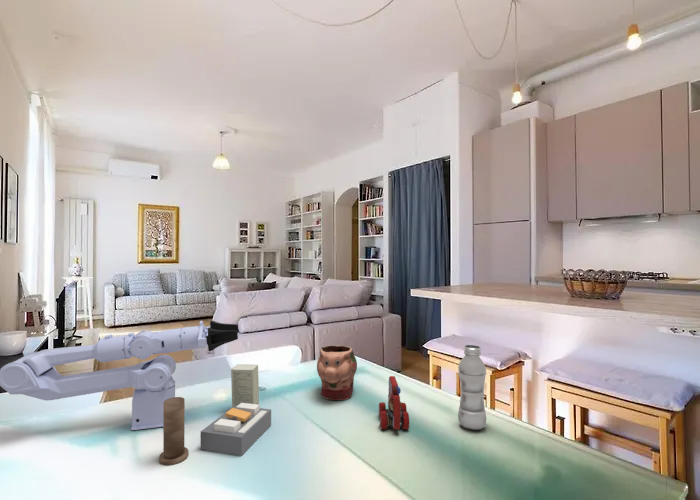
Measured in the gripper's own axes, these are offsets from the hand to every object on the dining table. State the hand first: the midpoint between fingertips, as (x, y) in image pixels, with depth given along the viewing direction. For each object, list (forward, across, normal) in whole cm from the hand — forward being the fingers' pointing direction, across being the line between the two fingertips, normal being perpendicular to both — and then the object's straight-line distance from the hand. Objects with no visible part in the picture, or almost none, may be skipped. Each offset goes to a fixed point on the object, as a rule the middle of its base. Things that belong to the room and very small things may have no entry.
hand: (237, 331), depth 100 cm
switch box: (-2, -14, +22) cm, 26 cm away
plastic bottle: (+54, -24, +27) cm, 65 cm away
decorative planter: (+27, +6, +24) cm, 37 cm away
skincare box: (0, 0, +22) cm, 22 cm away
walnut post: (-14, -19, +21) cm, 31 cm away
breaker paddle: (-1, -14, +17) cm, 22 cm away
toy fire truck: (+36, -17, +25) cm, 47 cm away
